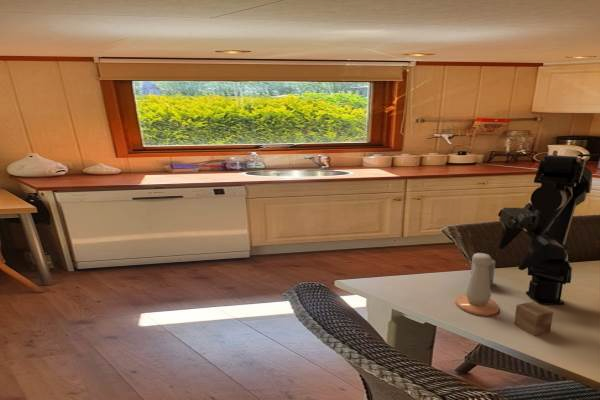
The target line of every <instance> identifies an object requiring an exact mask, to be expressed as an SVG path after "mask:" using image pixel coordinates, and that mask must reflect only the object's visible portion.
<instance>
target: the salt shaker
mask: <svg viewBox="0 0 600 400" xmlns="http://www.w3.org/2000/svg"><path fill="white" fill-rule="evenodd" d="M471 259H472V260H471V262H472V261H473V263H475V264H474V268H473V271H472V274H471V273H470V277H469V280H468V283H467V286H466V290H465V294H466V295H467V298H468V301H469V303H471V304H473V305H475V306H484V305H486V304H487V302H488V301H489V299H491V298H492V294H491V293H492V292H491V291H492V289H491V287H490V278H489V267H488V266H489V265H490V264H491V262H492V259H493V258H492V257H491V256H490V255H489V254H488V253H484V252H483V253H482V252H476V253H474V254H473V255H472V258H471Z"/></svg>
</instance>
